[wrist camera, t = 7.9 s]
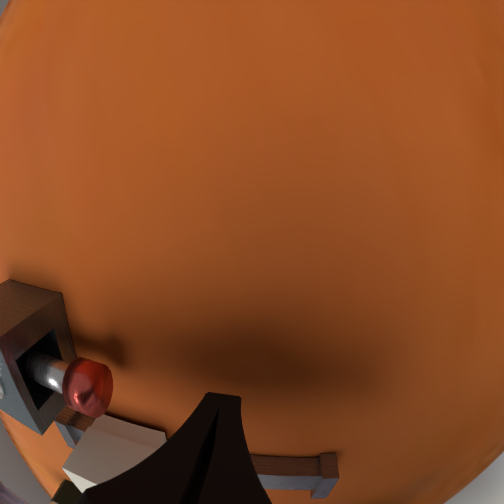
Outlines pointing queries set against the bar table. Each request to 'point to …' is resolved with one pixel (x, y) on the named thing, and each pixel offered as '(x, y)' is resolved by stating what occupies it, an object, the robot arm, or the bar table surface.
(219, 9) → the bar table surface
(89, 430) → the carriage
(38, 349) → the gauge cabinet
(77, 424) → the rail
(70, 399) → the plunger
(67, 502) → the wine bottle
